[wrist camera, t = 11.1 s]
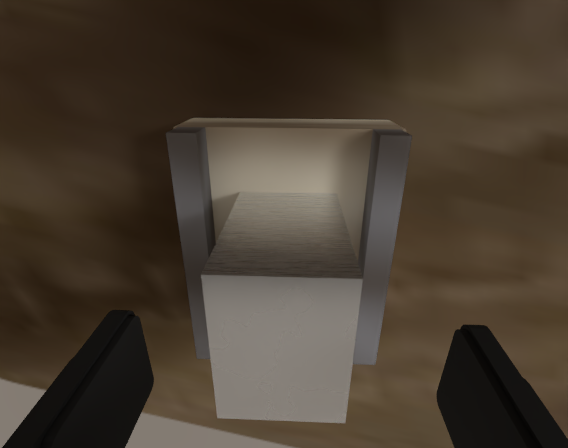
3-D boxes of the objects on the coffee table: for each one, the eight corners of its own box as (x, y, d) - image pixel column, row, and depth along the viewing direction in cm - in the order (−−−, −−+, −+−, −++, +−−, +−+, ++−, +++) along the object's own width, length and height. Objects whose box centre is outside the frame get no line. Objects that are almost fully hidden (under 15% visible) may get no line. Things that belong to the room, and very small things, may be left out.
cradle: (193, 117, 17) (160, 132, 13) (388, 119, 17) (417, 135, 13) (212, 305, 22) (193, 358, 18) (364, 309, 22) (379, 364, 18)
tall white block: (240, 191, 16) (200, 274, 9) (336, 193, 16) (362, 278, 9) (245, 301, 18) (218, 423, 12) (328, 303, 18) (344, 428, 12)
